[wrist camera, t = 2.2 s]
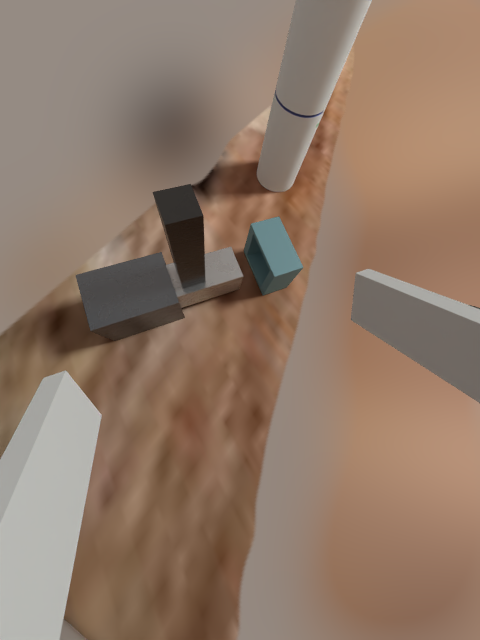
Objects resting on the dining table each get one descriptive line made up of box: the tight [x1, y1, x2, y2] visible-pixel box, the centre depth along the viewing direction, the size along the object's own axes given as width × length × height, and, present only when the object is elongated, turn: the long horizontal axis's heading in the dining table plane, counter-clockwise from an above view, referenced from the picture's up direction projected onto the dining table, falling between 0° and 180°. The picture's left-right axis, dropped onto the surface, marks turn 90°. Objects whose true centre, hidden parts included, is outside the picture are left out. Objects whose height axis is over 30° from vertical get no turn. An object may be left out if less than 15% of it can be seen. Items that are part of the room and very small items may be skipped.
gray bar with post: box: [153, 184, 243, 308], centre depth 26 cm, size 18×5×17 cm, turn 112°
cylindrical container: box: [257, 0, 372, 192], centre depth 31 cm, size 7×7×25 cm
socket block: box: [244, 217, 303, 295], centre depth 35 cm, size 4×8×7 cm, turn 21°
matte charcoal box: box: [76, 252, 185, 341], centre depth 31 cm, size 10×7×7 cm
